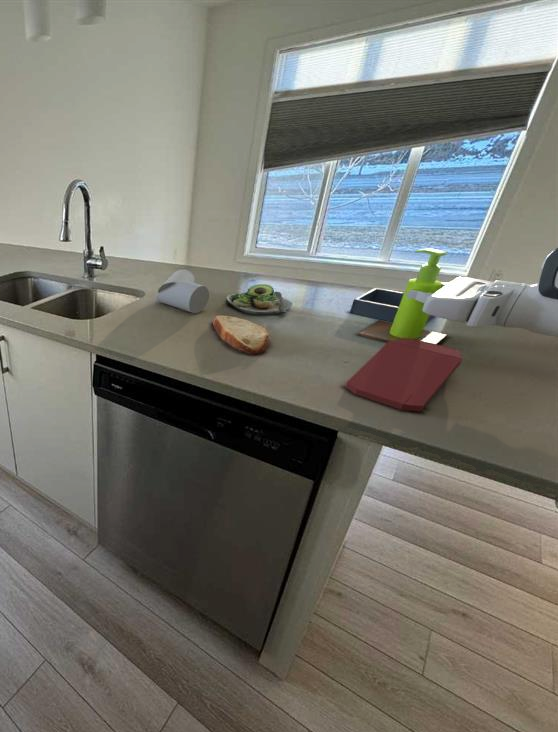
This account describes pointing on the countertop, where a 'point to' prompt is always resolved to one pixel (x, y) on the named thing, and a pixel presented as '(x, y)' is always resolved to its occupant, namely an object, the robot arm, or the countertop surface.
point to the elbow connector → (183, 292)
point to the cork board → (382, 333)
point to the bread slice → (242, 334)
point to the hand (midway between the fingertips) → (414, 289)
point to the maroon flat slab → (405, 373)
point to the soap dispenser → (410, 310)
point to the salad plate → (259, 301)
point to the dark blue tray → (378, 304)
